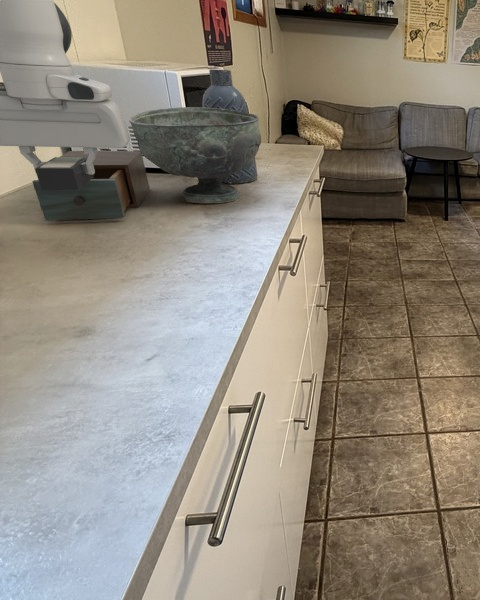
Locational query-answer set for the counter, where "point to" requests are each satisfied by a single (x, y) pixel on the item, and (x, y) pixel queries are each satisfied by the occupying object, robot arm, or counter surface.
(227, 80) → the vase
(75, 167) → the dark grey block
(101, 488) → the counter surface
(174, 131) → the decorative bowl
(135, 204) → the cabinet
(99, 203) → the drawer
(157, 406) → the counter surface
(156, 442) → the counter surface
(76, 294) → the counter surface
